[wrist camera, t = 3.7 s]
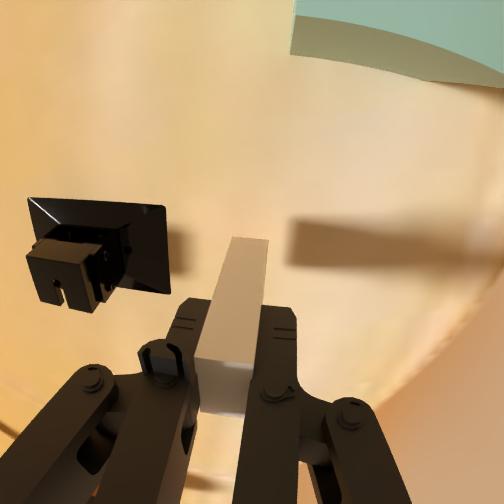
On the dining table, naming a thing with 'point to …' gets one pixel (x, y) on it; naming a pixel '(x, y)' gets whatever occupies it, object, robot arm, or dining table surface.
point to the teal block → (406, 37)
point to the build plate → (96, 250)
